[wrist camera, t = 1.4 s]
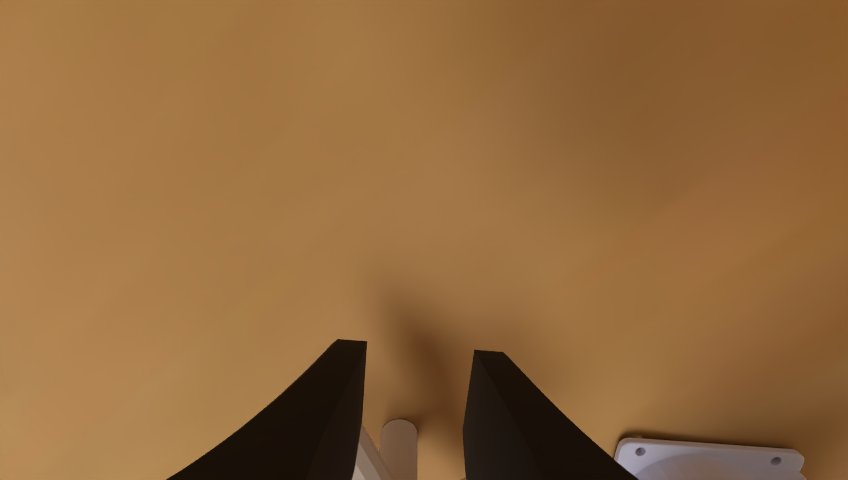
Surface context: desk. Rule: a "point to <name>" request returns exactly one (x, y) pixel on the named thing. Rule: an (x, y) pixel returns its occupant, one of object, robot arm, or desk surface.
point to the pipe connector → (388, 453)
